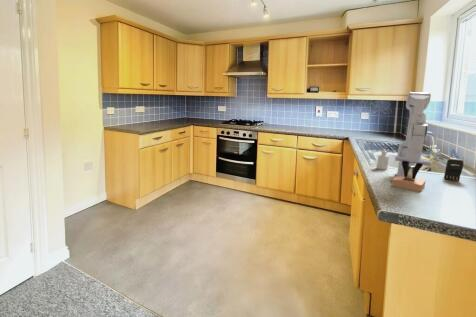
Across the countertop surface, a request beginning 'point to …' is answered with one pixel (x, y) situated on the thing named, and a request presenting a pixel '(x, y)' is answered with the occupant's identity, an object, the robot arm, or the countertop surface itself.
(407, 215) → the countertop surface
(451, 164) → the battery charger
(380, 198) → the countertop surface
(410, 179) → the steel peg
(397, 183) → the hole block
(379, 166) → the eye dropper bottle
